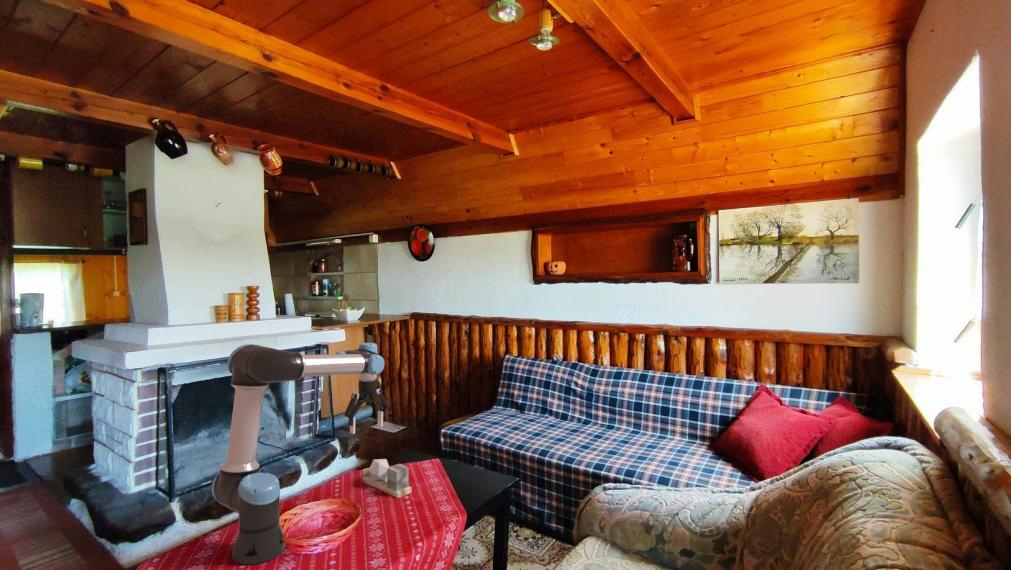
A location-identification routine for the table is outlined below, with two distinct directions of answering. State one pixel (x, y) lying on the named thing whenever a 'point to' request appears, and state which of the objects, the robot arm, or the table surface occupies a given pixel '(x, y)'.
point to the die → (379, 469)
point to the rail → (384, 488)
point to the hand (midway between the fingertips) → (366, 429)
